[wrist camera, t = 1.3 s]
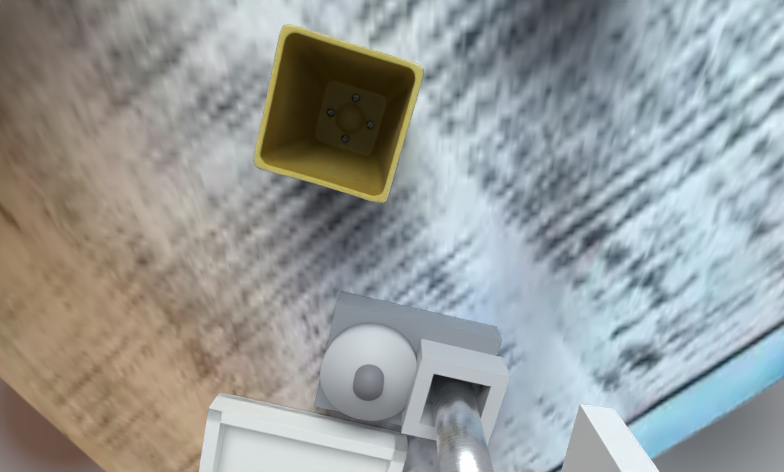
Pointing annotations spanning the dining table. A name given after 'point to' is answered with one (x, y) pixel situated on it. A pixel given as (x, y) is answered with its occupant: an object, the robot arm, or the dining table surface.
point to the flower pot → (336, 113)
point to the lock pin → (458, 427)
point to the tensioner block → (406, 364)
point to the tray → (293, 440)
